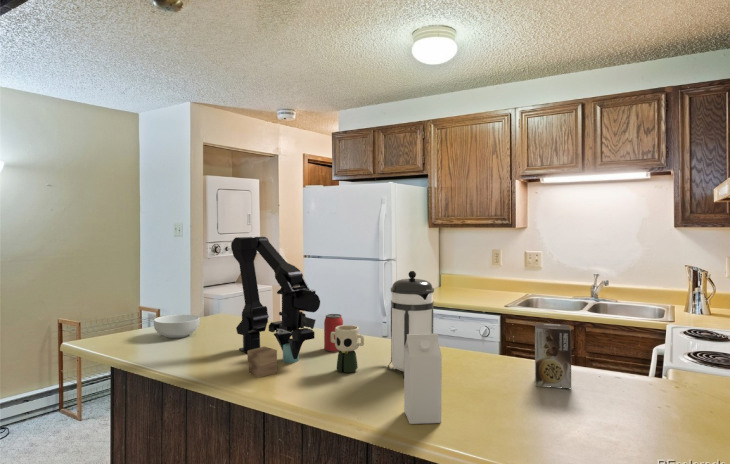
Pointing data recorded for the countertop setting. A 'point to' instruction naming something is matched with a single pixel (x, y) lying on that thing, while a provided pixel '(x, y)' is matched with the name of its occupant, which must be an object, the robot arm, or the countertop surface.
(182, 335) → the cereal bowl
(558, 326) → the cookie box
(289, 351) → the teal rounded cylinder
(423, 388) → the milk carton
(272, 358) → the stepped brown block
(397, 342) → the coffee press
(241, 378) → the countertop surface
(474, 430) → the countertop surface
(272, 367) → the bottom slab
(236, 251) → the robot arm
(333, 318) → the beer can
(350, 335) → the character mug
